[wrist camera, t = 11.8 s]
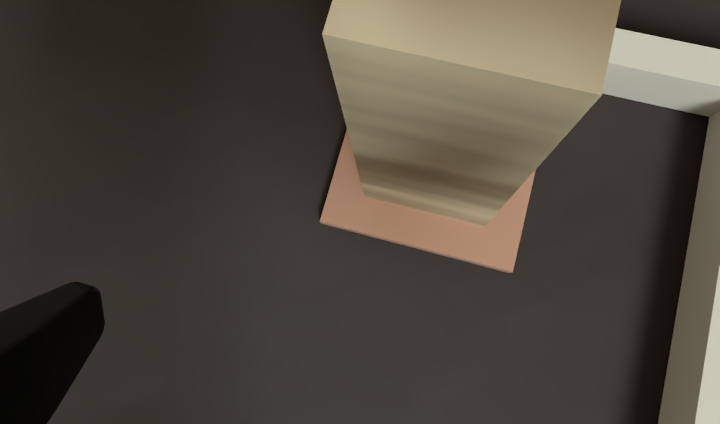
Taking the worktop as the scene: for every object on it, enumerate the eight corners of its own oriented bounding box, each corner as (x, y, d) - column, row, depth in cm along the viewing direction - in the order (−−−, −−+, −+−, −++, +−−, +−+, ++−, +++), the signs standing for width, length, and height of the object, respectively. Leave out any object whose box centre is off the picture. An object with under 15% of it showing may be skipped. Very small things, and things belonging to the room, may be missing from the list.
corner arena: (710, 554, 20) (755, 587, 17) (264, 416, 22) (247, 427, 19) (777, 97, 23) (822, 70, 20) (382, 13, 25) (381, -21, 22)
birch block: (484, 227, 22) (601, 95, 9) (364, 197, 23) (321, 33, 10) (511, 113, 23) (652, -150, 10) (395, 87, 24) (392, -192, 11)
